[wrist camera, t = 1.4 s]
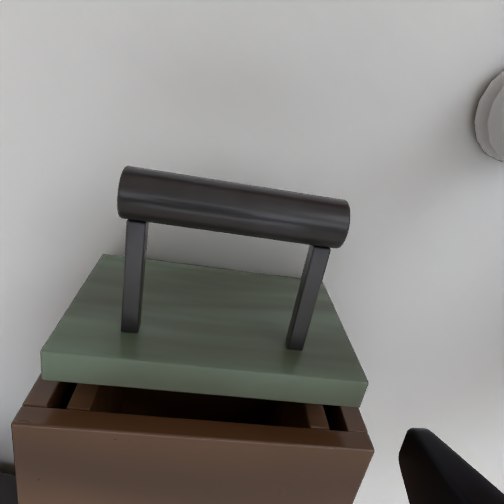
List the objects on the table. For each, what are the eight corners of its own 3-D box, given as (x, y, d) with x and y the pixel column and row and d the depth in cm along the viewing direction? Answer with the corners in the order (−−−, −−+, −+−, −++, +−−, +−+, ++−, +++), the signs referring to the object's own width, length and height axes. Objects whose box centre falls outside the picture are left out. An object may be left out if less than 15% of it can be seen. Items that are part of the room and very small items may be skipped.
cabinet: (94, 282, 21) (9, 423, 13) (319, 309, 22) (376, 451, 14) (90, 474, 27) (30, 657, 18) (269, 485, 28) (287, 657, 20)
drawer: (106, 128, 17) (31, 168, 10) (354, 170, 18) (428, 228, 12) (96, 451, 25) (50, 593, 18) (271, 463, 26) (287, 598, 19)
